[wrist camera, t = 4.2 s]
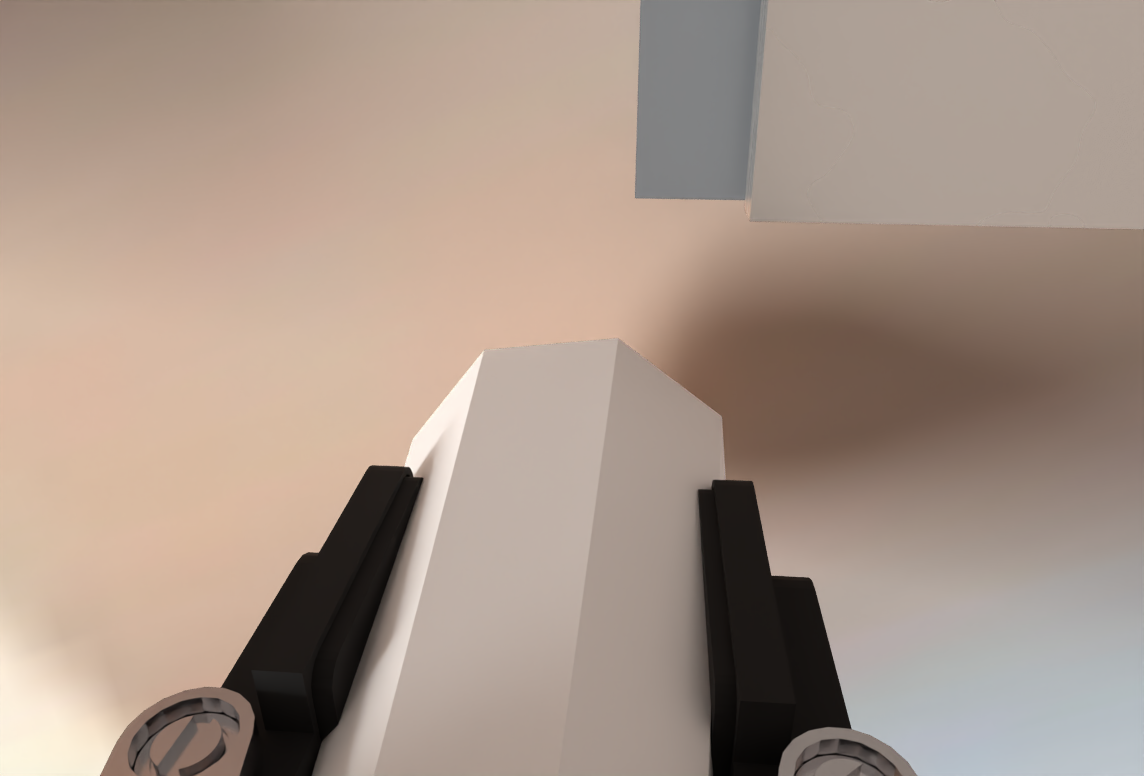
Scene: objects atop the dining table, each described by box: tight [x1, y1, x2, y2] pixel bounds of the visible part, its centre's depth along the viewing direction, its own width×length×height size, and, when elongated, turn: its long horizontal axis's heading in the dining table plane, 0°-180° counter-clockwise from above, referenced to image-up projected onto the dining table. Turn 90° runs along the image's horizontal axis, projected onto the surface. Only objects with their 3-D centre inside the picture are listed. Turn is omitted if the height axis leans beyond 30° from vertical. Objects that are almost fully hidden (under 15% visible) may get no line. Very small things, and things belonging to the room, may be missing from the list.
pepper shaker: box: [312, 338, 726, 776], centre depth 9 cm, size 5×5×11 cm
